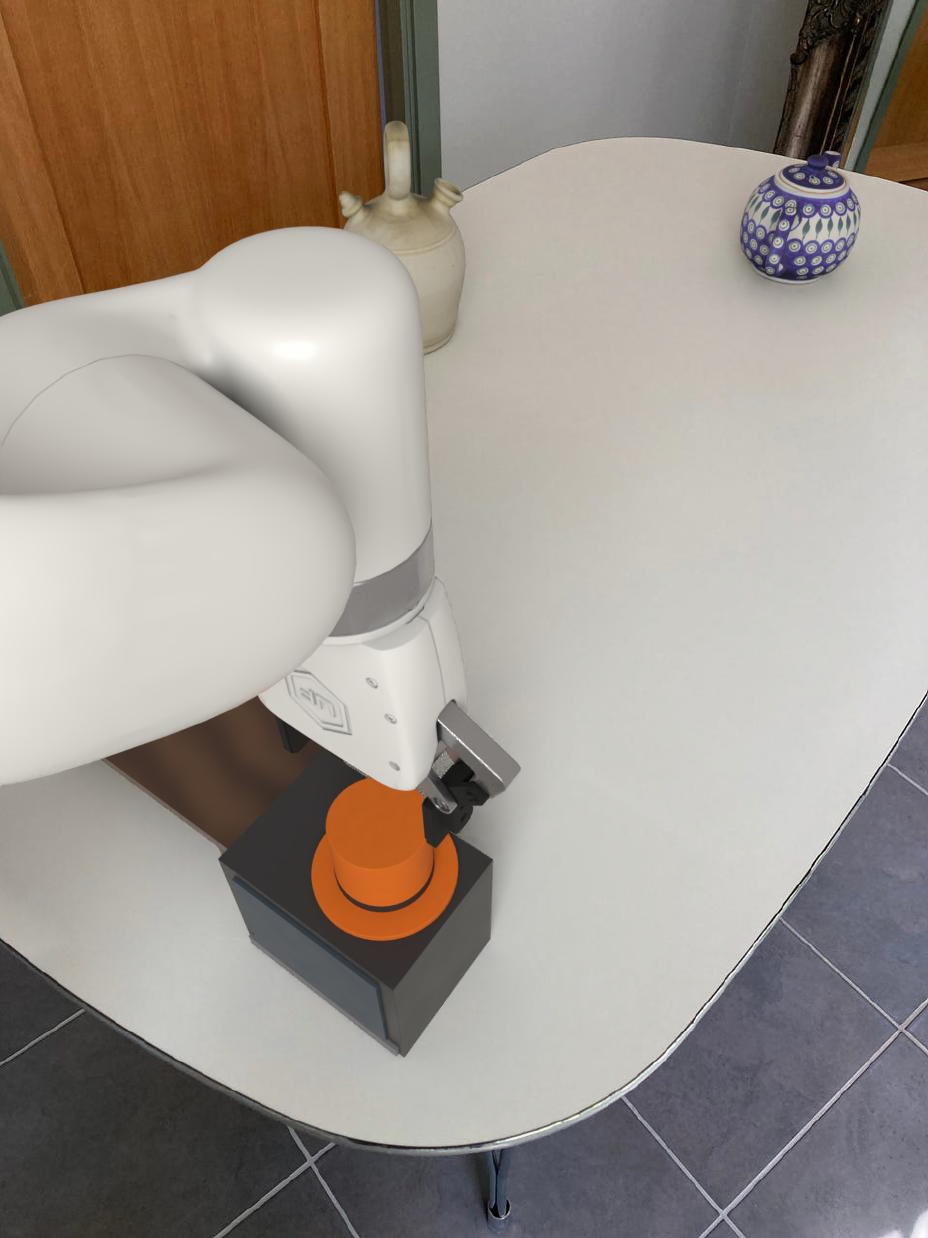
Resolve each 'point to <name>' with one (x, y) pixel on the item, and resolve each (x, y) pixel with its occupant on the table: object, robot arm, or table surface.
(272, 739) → the stand
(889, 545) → the table surface
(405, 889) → the hat
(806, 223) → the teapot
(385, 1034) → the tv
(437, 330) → the jug
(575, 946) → the table surface
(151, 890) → the table surface
